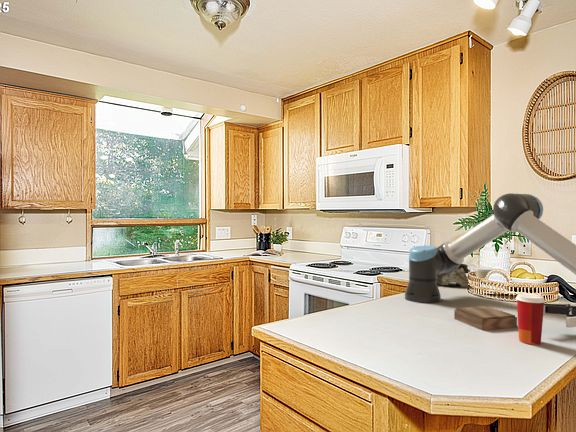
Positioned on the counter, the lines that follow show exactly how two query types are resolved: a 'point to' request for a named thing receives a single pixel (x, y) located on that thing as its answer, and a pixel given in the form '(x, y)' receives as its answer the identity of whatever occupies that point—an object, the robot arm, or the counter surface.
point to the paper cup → (530, 318)
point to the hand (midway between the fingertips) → (546, 316)
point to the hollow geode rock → (454, 276)
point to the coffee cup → (482, 271)
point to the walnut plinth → (485, 318)
